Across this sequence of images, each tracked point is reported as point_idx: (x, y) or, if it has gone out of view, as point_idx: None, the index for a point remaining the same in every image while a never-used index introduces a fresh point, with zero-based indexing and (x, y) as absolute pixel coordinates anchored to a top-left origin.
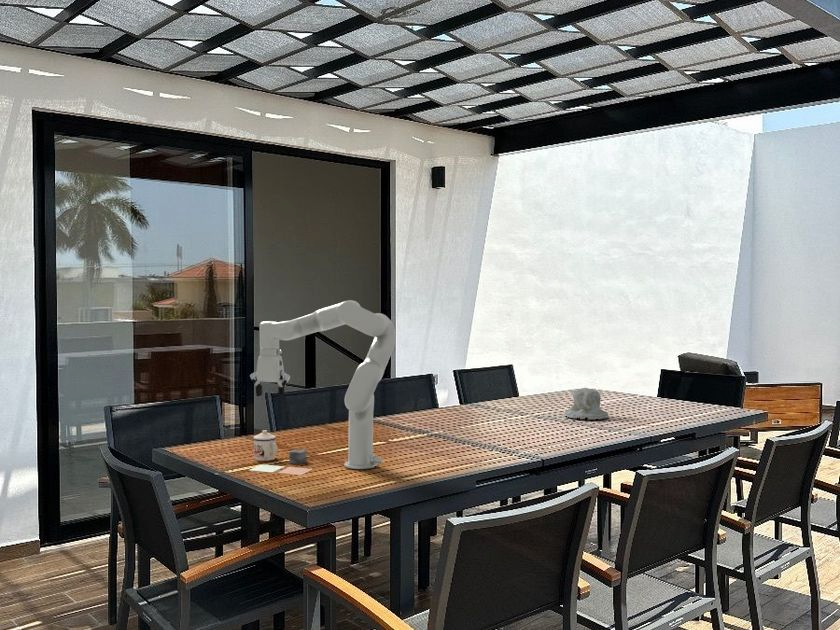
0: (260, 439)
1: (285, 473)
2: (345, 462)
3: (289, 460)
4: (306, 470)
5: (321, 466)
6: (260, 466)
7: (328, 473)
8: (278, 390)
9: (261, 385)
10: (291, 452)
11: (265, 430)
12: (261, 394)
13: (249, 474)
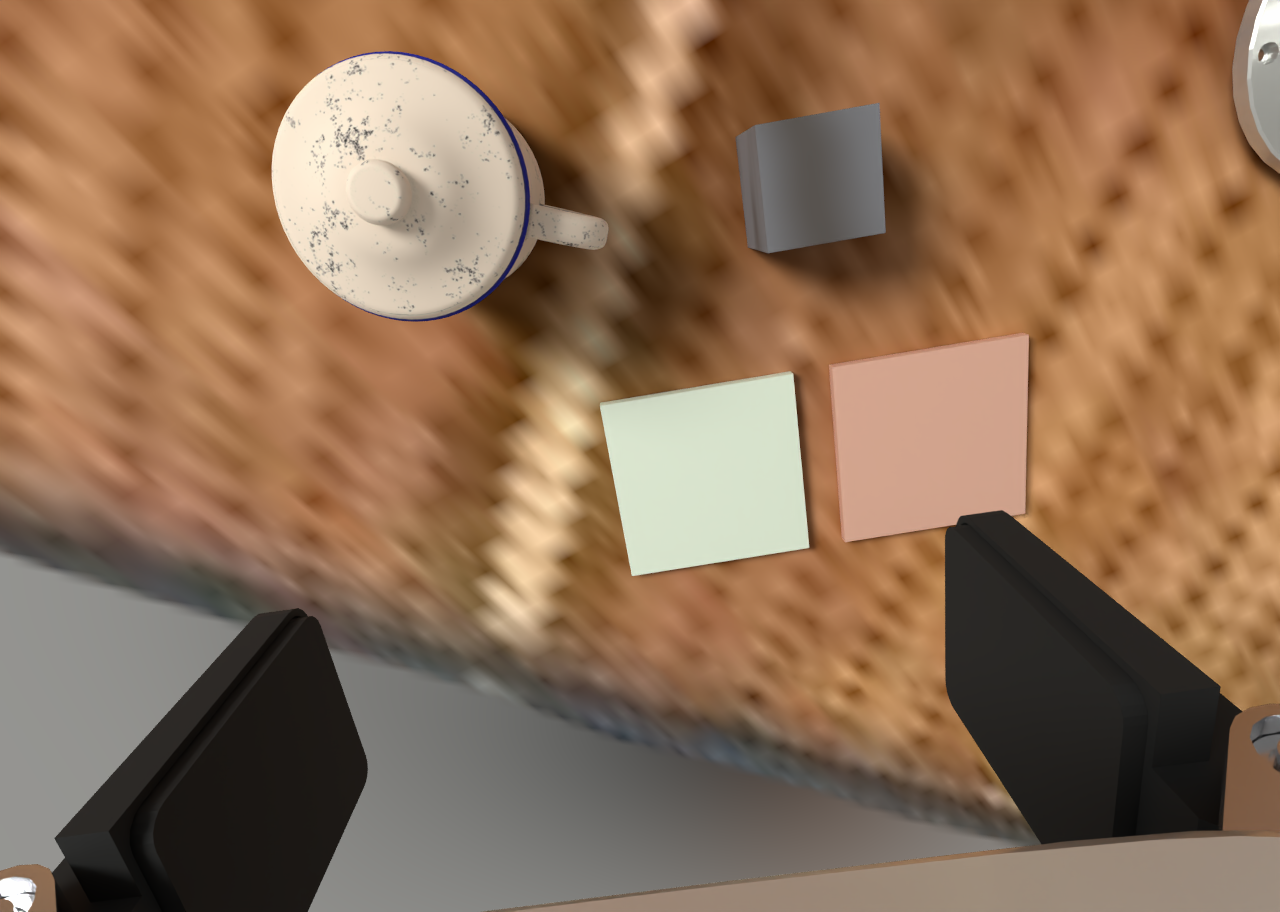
0: (446, 313)
1: (907, 530)
2: (1259, 94)
3: (754, 248)
4: (1002, 396)
5: (1025, 181)
6: (633, 460)
7: (1162, 347)
8: (1047, 839)
9: (118, 841)
10: (788, 248)
11: (380, 184)
12: (313, 648)
13: (683, 617)
